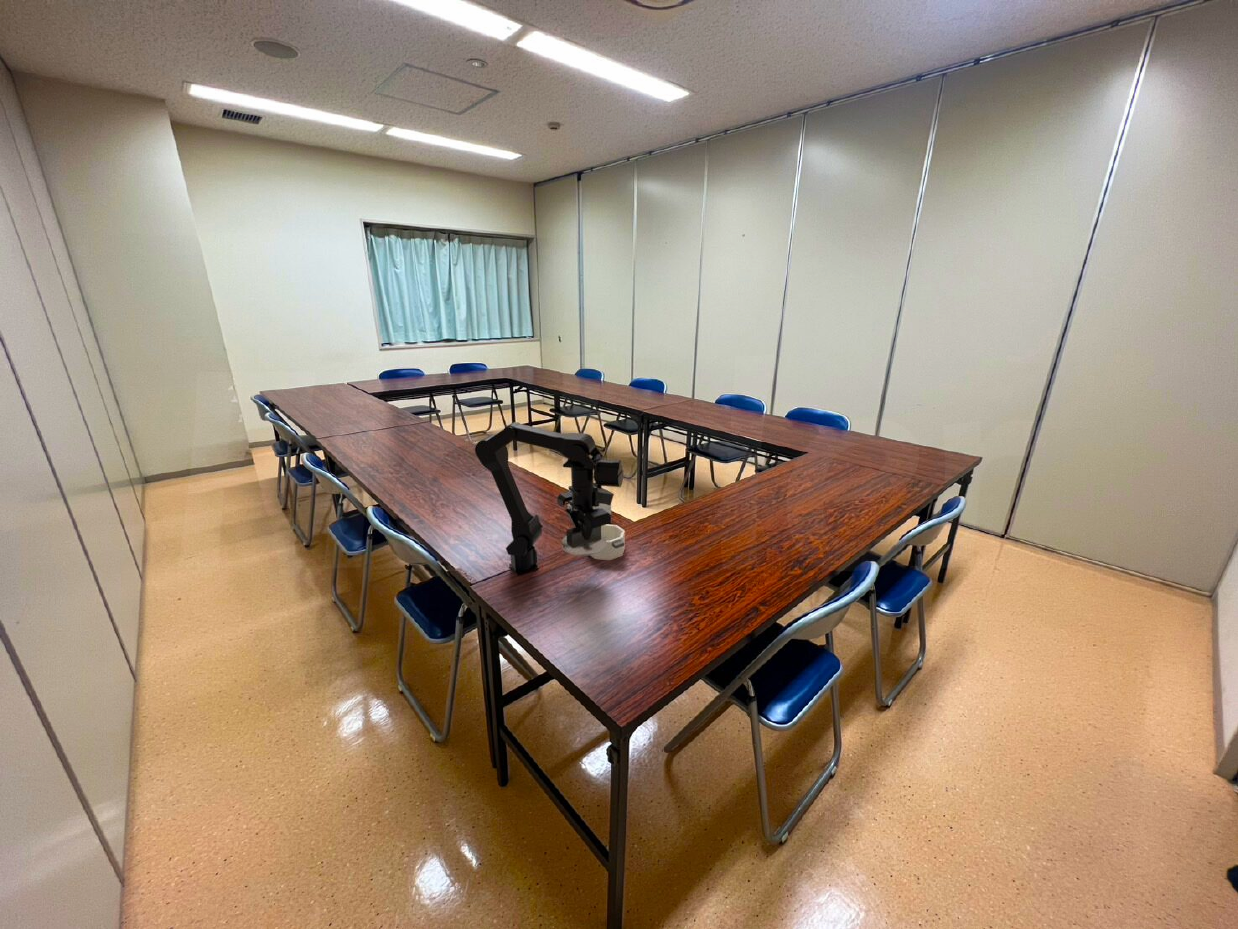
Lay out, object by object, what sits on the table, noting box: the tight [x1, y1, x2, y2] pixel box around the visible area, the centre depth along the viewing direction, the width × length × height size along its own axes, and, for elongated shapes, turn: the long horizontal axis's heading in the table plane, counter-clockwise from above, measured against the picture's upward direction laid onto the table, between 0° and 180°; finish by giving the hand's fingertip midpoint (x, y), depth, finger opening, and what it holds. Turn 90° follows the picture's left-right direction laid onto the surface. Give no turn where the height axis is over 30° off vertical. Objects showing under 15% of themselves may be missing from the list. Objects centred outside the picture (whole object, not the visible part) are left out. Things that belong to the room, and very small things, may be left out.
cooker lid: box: [561, 526, 607, 557], centre depth 127 cm, size 12×12×5 cm
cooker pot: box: [589, 524, 626, 561], centre depth 143 cm, size 11×15×6 cm
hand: (584, 537), depth 127 cm, fingers closed on cooker lid, 3 cm apart
